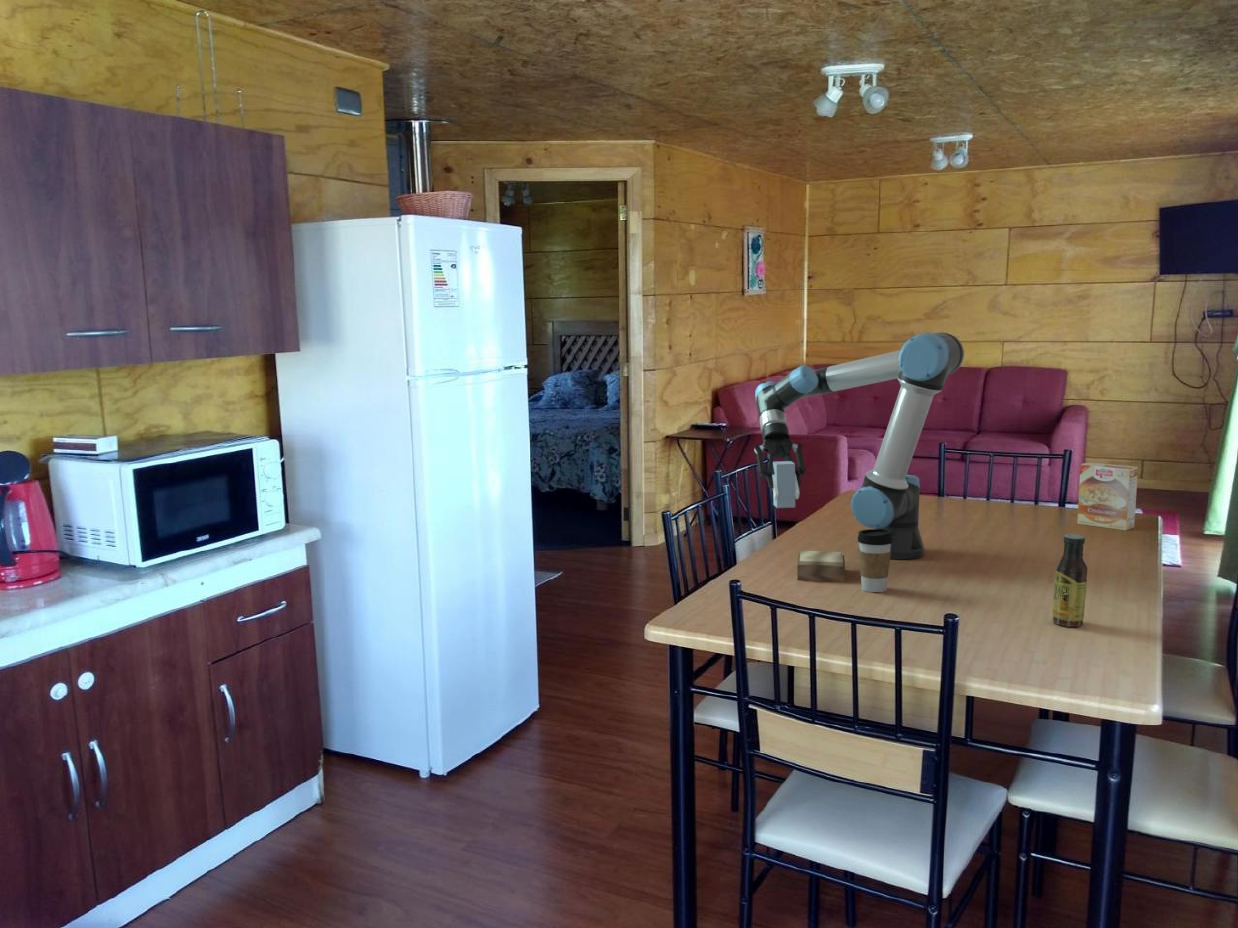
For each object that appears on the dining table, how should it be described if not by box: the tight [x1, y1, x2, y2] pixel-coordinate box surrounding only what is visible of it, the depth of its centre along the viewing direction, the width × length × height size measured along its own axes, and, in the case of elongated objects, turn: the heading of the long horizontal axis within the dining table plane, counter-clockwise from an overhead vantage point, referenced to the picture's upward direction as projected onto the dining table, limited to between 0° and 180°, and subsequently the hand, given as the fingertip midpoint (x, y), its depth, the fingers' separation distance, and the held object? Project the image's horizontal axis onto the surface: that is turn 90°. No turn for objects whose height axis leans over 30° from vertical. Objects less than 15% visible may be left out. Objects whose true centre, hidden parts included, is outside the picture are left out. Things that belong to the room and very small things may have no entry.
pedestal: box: [796, 550, 846, 583], centre depth 247 cm, size 12×12×5 cm
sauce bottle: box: [1052, 533, 1088, 628], centre depth 202 cm, size 7×6×20 cm
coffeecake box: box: [1076, 461, 1139, 531], centre depth 295 cm, size 15×7×20 cm, turn 42°
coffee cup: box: [857, 528, 893, 593], centre depth 232 cm, size 8×8×15 cm
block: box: [772, 460, 796, 509], centre depth 255 cm, size 5×5×12 cm
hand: (787, 496), depth 252 cm, fingers closed on block, 5 cm apart
